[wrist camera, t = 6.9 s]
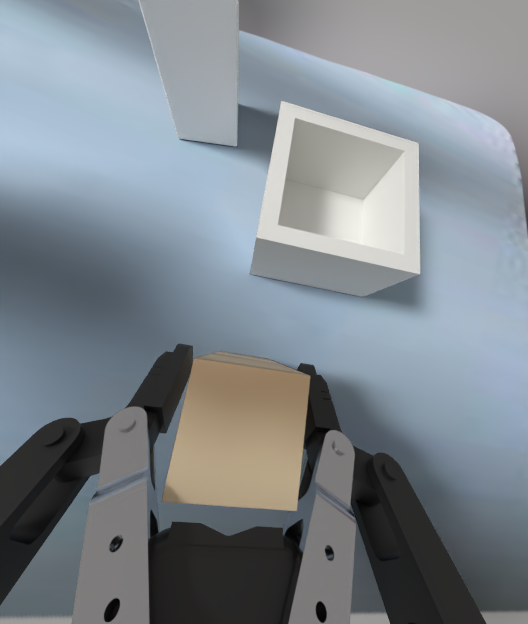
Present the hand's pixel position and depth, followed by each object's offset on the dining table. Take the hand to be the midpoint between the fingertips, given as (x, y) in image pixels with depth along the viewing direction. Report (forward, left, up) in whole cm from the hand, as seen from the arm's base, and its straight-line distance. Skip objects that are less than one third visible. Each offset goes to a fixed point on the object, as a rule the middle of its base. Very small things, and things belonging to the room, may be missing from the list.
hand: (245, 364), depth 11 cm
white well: (-8, +12, -5) cm, 15 cm away
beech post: (+1, -1, -5) cm, 5 cm away
